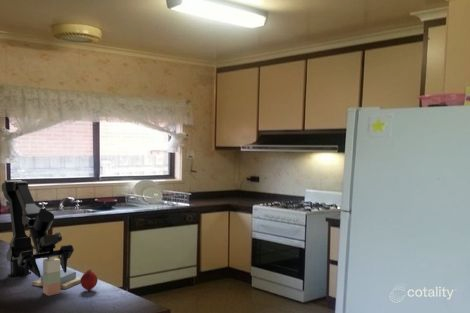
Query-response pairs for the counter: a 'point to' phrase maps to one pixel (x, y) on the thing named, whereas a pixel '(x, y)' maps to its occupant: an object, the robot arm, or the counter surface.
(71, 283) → the board
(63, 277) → the base brick
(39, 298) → the counter surface
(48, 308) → the counter surface
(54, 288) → the brick column
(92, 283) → the onion
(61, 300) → the counter surface
